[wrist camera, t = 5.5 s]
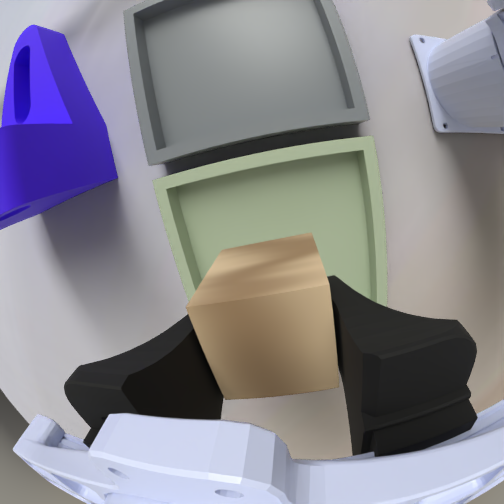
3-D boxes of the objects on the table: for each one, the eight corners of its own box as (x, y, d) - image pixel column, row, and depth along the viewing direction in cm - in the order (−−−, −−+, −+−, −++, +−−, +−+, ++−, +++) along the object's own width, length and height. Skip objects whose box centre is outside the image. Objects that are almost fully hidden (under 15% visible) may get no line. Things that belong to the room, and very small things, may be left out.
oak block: (311, 232, 12) (329, 284, 7) (323, 311, 13) (339, 387, 8) (221, 249, 12) (185, 306, 8) (243, 324, 14) (225, 399, 9)
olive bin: (361, 137, 17) (373, 135, 14) (377, 304, 21) (386, 321, 18) (167, 176, 19) (152, 180, 17) (212, 328, 23) (205, 346, 21)
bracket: (118, 177, 19) (-2, 213, 8) (41, 212, 21) (-49, 253, 10) (93, 8, 14) (9, -30, 3) (22, 64, 16) (-57, 59, 5)
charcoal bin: (311, -22, 12) (313, -39, 10) (359, 123, 16) (369, 119, 14) (138, 22, 15) (123, 11, 12) (163, 163, 19) (148, 165, 16)
